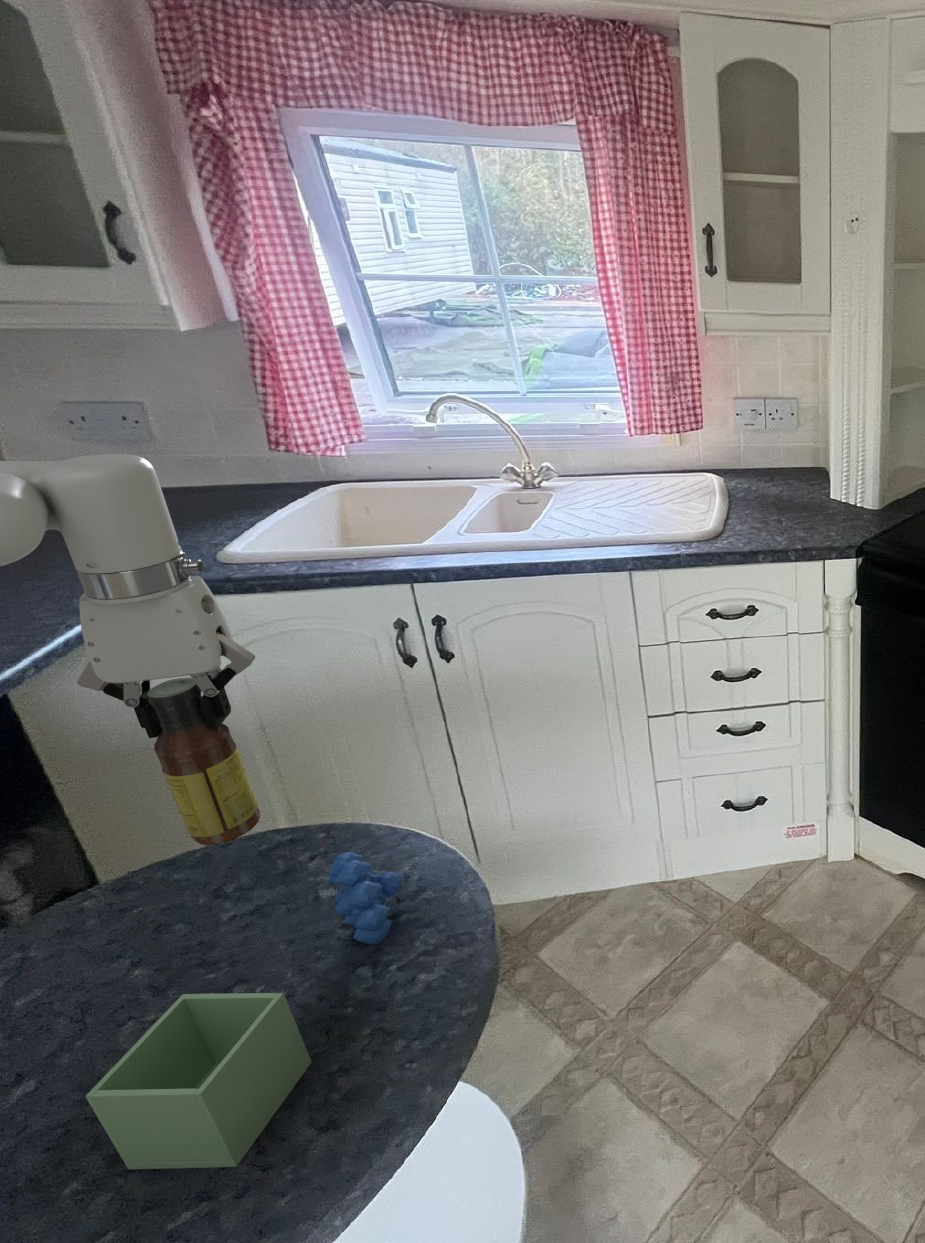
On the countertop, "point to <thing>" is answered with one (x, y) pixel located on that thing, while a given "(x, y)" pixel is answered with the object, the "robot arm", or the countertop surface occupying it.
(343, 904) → the grapes
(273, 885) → the countertop surface
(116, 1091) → the bin
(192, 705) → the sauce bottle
